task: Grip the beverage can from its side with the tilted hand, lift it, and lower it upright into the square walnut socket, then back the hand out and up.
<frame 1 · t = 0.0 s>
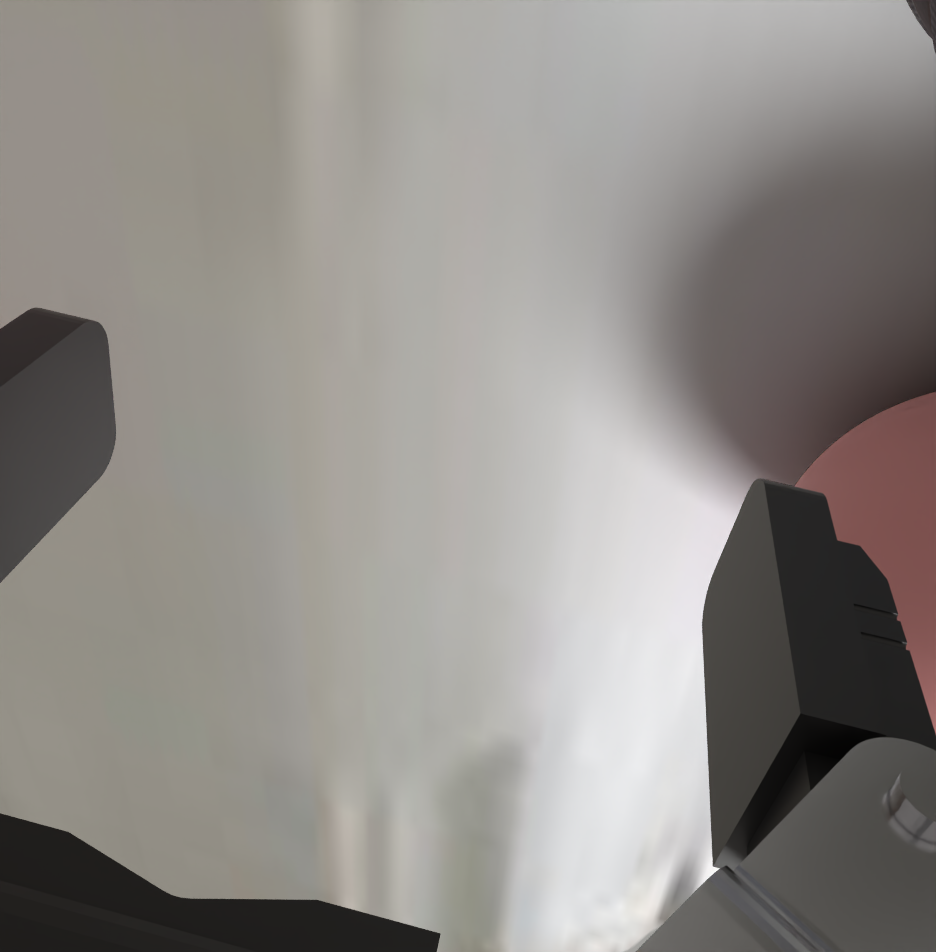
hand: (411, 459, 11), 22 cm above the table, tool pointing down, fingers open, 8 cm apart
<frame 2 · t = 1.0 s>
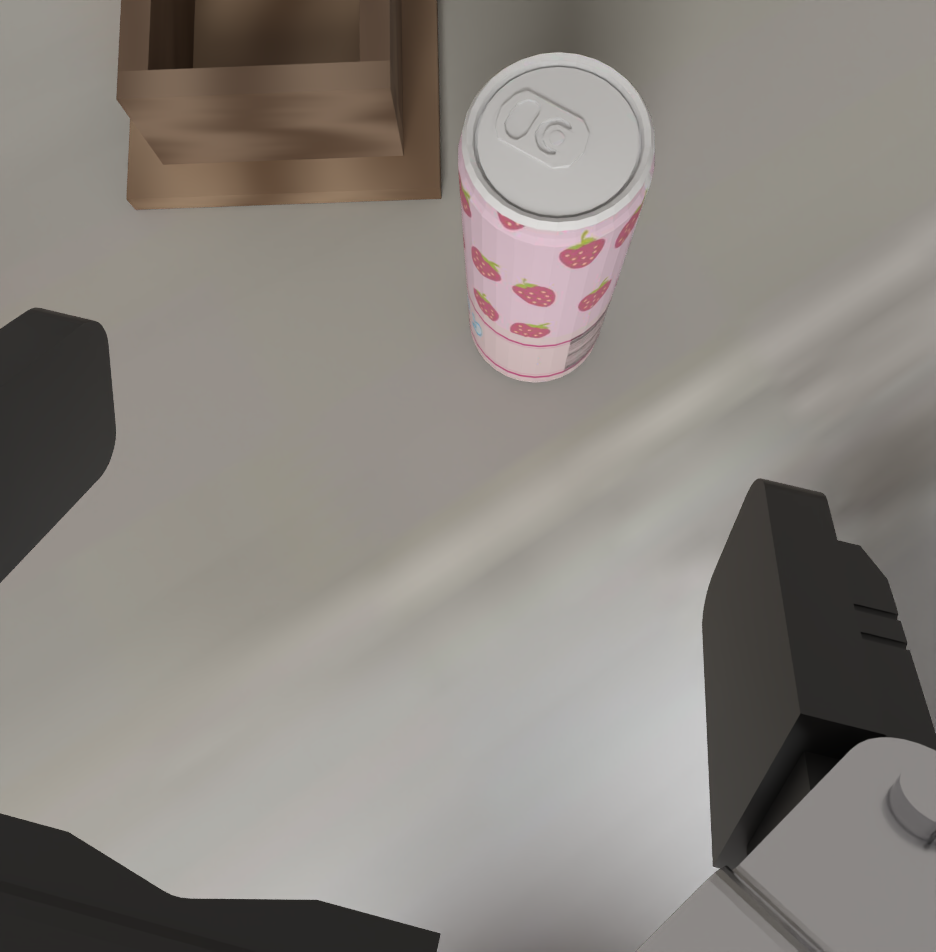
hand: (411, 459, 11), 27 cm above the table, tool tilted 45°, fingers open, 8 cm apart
beverage can: (534, 323, 39), on the table
can socket: (289, 64, 42), on the table
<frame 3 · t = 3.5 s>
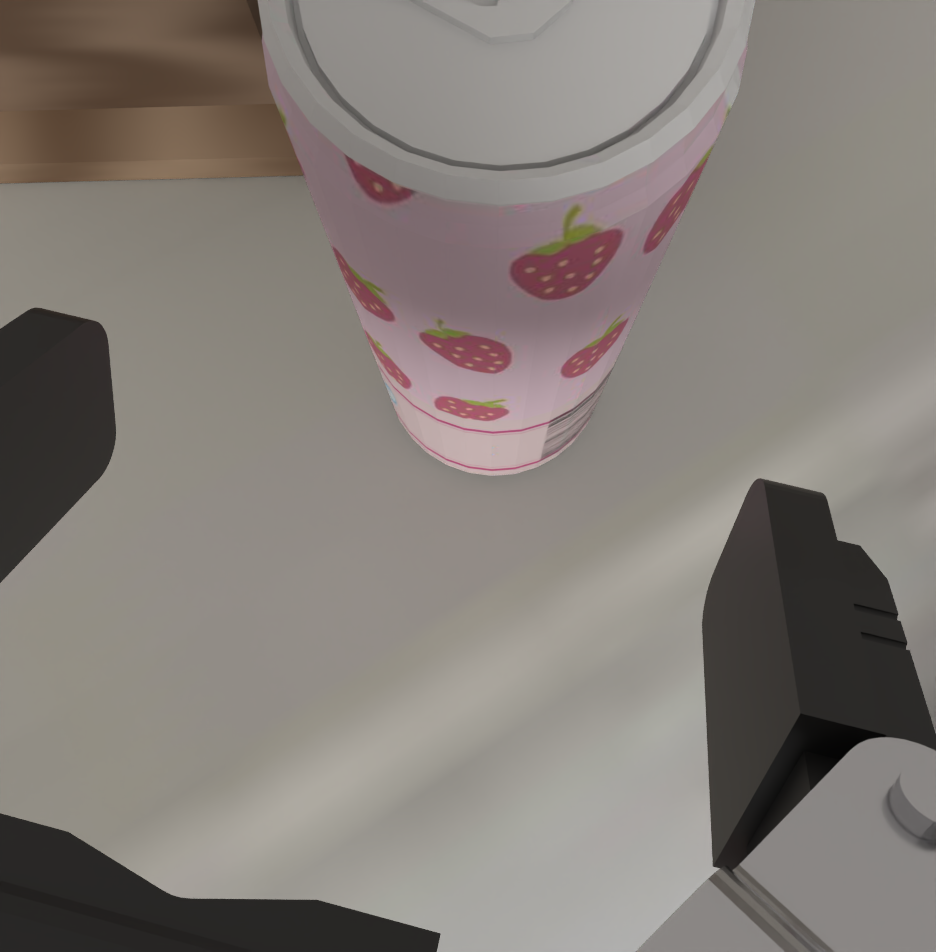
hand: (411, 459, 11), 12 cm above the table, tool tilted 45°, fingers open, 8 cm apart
beverage can: (494, 377, 24), on the table
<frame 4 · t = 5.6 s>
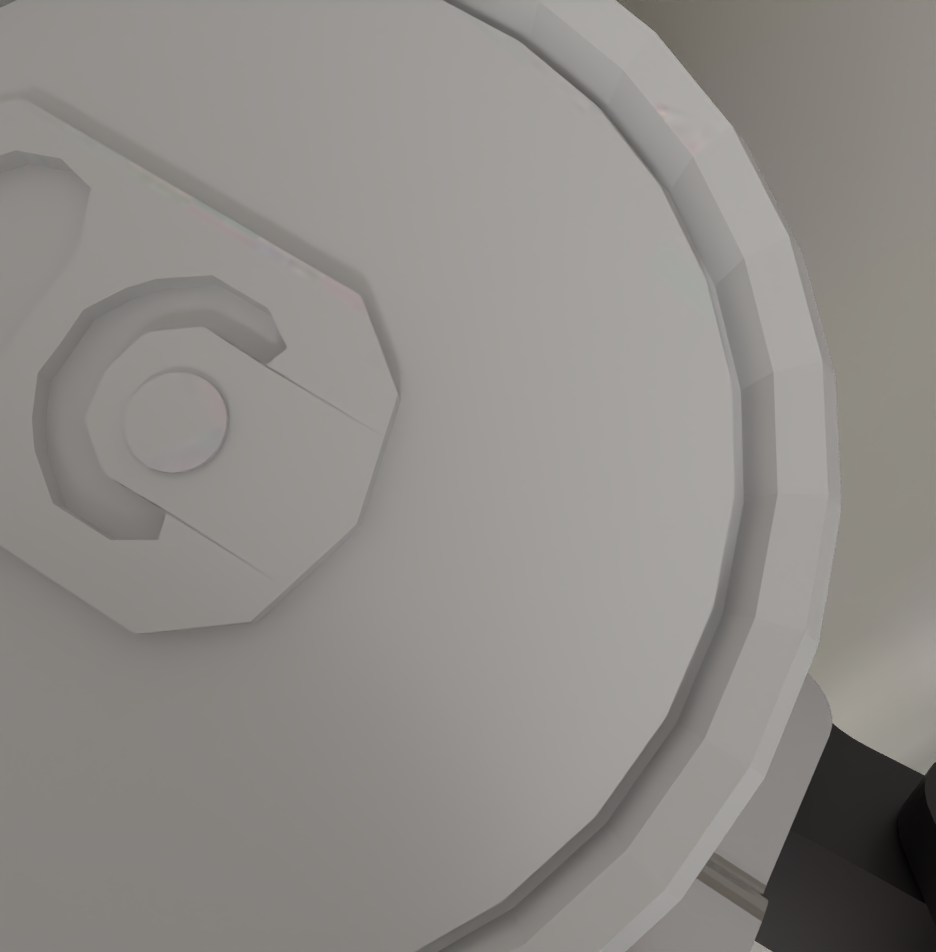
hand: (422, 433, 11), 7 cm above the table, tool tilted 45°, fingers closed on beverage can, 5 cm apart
beverage can: (428, 595, 18), on the table, touching gripper
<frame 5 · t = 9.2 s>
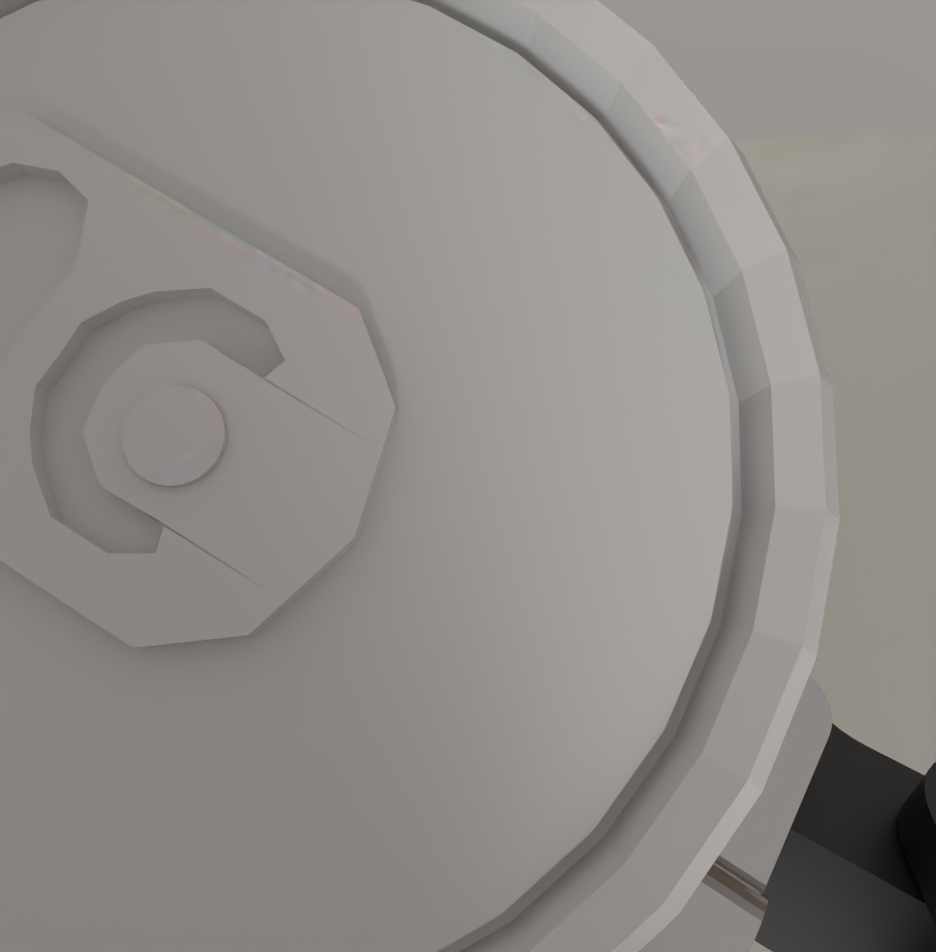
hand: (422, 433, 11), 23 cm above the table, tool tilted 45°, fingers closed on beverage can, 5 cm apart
beverage can: (427, 598, 18), point 16 cm above the table, touching gripper
when the fingers open (9 cm above the table, at t = 12.7 s): beverage can drops 1 cm, resting on can socket.
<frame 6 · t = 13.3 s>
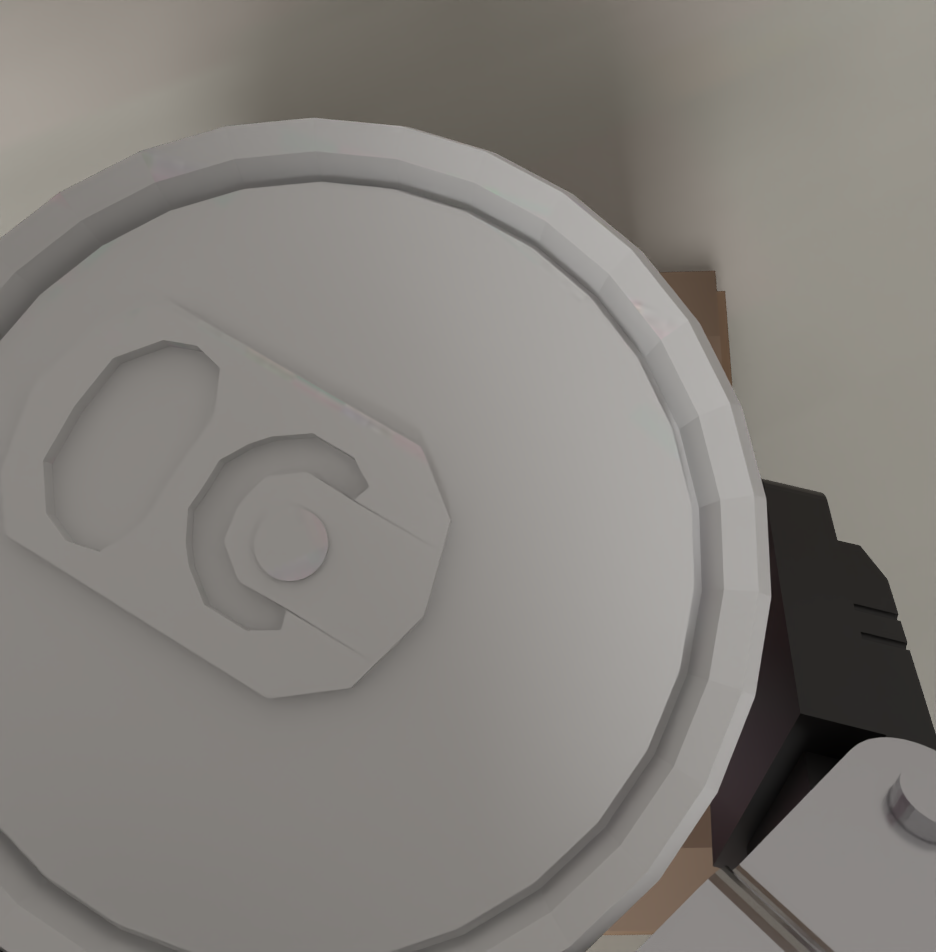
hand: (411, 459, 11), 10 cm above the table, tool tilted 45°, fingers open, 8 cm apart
beverage can: (436, 611, 20), point 1 cm above the table, touching can socket
can socket: (433, 599, 21), on the table
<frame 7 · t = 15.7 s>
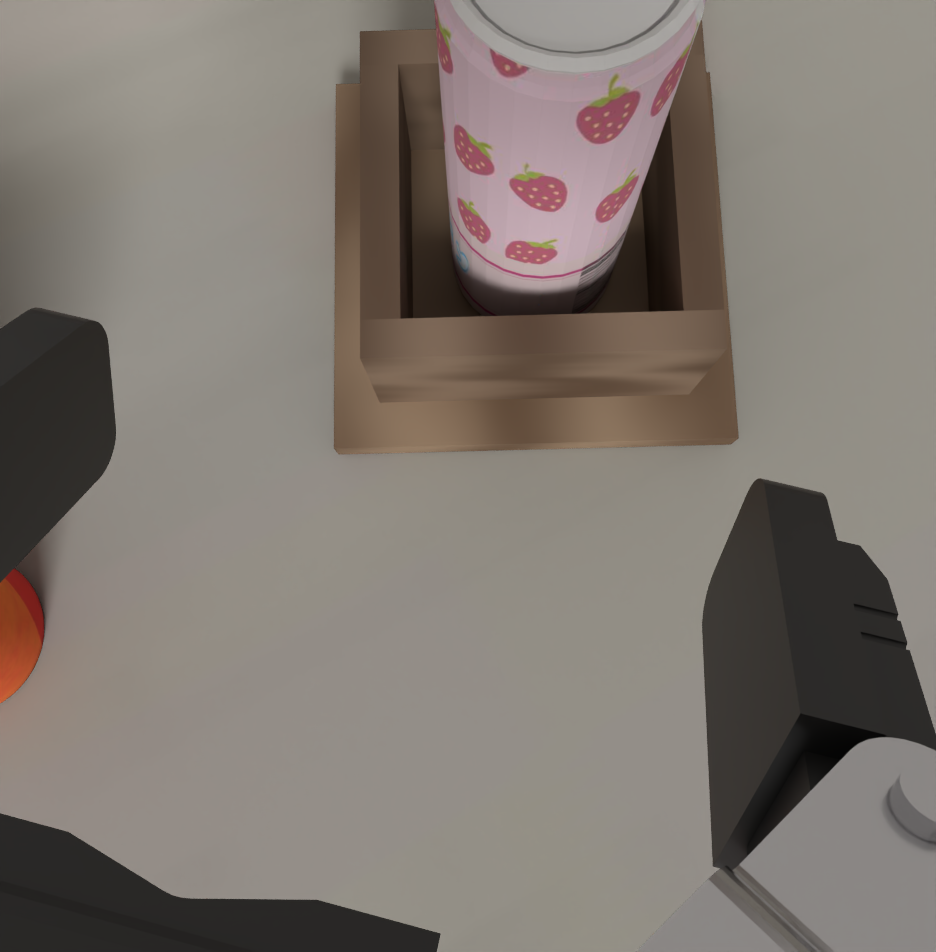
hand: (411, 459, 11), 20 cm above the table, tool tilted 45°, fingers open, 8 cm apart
beverage can: (531, 263, 32), point 1 cm above the table, touching can socket
can socket: (527, 265, 33), on the table
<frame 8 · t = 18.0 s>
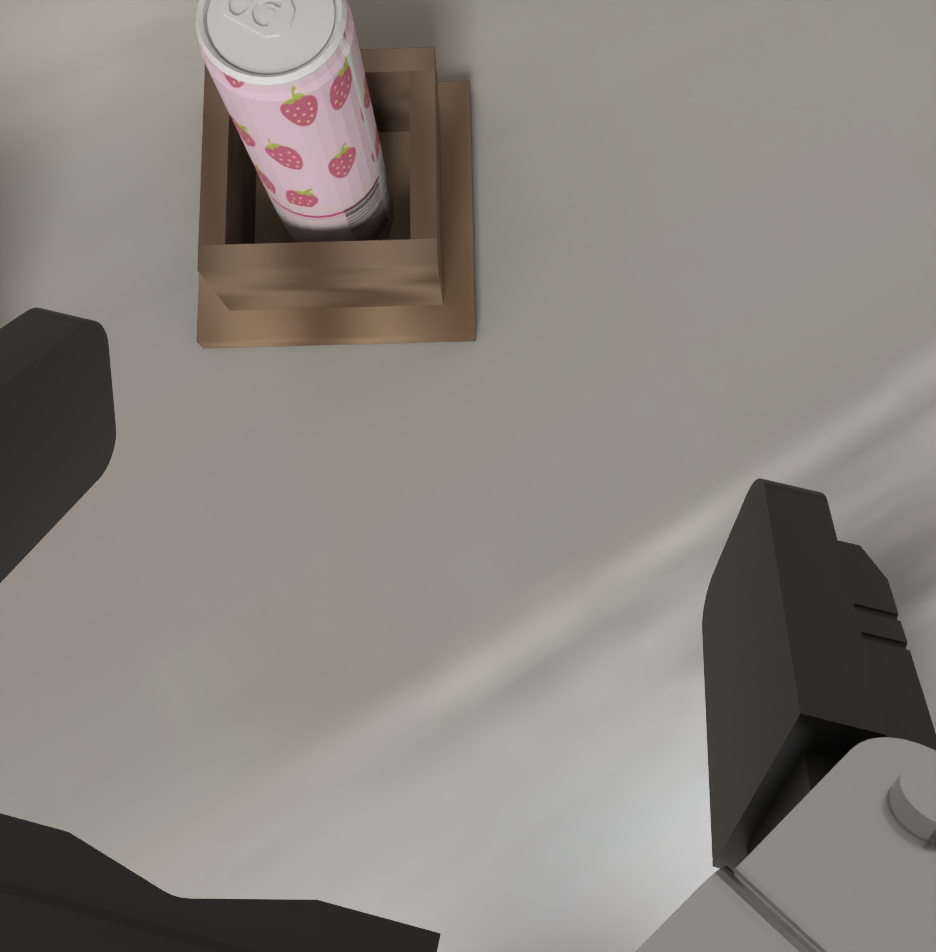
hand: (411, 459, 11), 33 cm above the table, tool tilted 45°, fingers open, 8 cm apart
beverage can: (339, 215, 46), point 1 cm above the table, touching can socket
can socket: (339, 217, 47), on the table
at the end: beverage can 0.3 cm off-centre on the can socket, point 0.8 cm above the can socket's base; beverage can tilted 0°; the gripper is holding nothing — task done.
